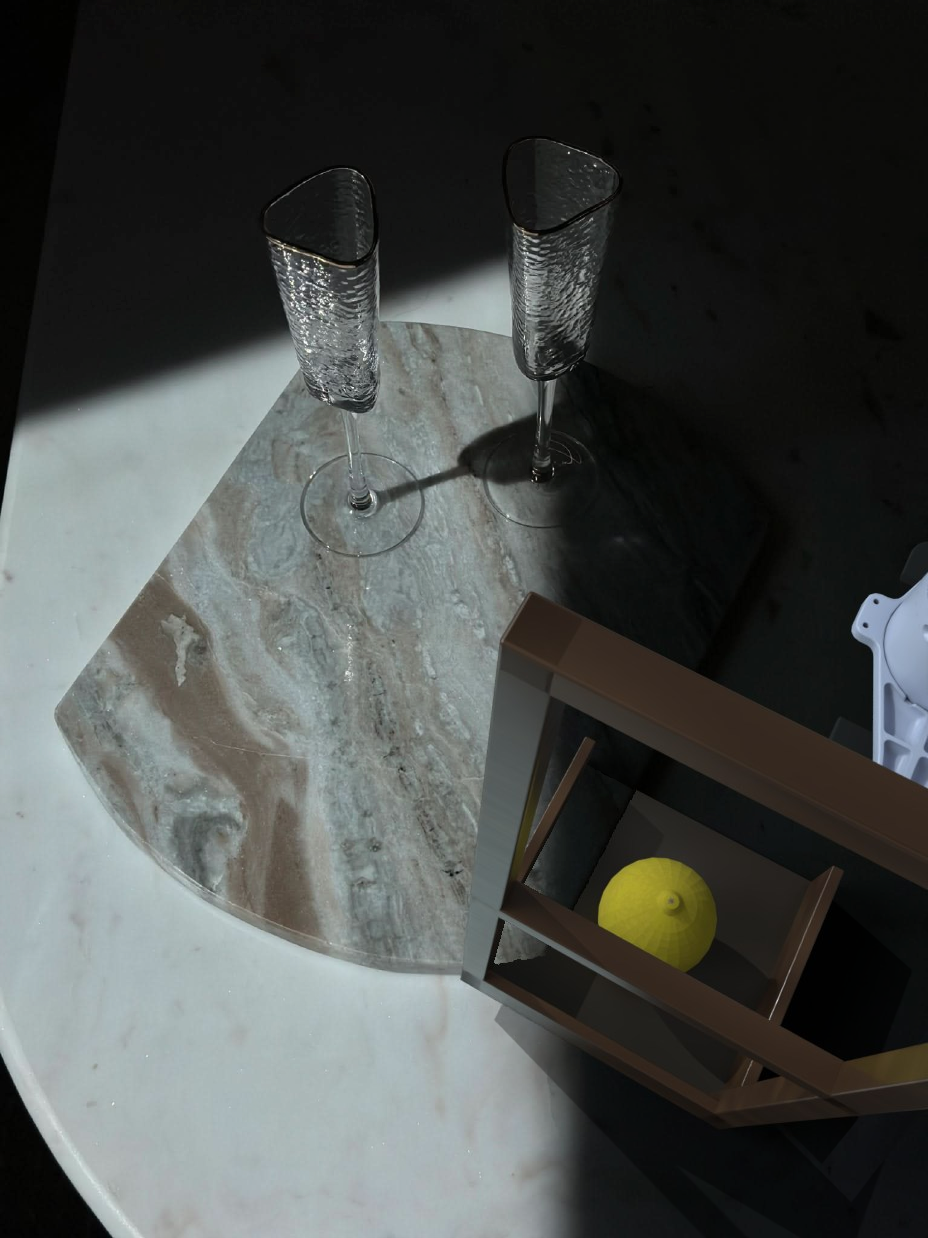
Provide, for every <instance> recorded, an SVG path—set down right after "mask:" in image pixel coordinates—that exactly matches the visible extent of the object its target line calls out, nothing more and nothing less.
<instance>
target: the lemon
mask: <svg viewBox="0 0 928 1238" xmlns="http://www.w3.org/2000/svg"><path fill="white" fill-rule="evenodd" d="M716 923H717V915H716V906H715V902H714V899H713V896H712V894H711V891H710V889H709V888H708V886H707V885H706V883H705V882H704V880H703V879H702V878H701V877H700V876H699V875H698V874H697V873H696V872H695V871H694V870H693V869H691V868H690V867H688V866H686V865H684V864H683V863H681V862H678V861H675V860H671V859H668V858H648V859H643V860H639V861H636V862H634V863H632V864H630V865H628V866H626V867H624V868H623V869H622V870H621V871H619V872H618V873H617V874H616V875H615V876H614V877H613V878H612V879H611V881H610V882H609V884H608V885H607V887H606V889H605V890H604V892H603V895H602V898H601V901H600V904H599V914H598V924H599V926H601V927H603V928H604V929H606V930H608V931H610V932H612V933H613V934H615V935H617V936H619V937H621V938H622V939H624V940H626V941H628V942H630V943H632V944H633V945H635V946H637V947H639V948H641V949H642V950H644V951H646V952H648V953H650V954H651V955H653V956H655V957H657V958H659V959H660V960H662V961H664V962H666V963H668V964H669V965H671V966H673V967H675V968H677V969H678V970H680V971H682V972H684V973H685V972H687V971H688V970H689V969H691V968H692V967H694V966H695V965H696V964H698V963H699V962H700V960H701V959H702V958H703V957H704V955H705V954H706V953H707V952H708V950H709V948H710V946H711V943H712V941H713V938H714V936H715V930H716Z"/></svg>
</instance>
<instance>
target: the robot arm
mask: <svg viewBox="0 0 928 1238" xmlns="http://www.w3.org/2000/svg"><path fill="white" fill-rule="evenodd" d="M899 583H900V592H901V597H899V598H891V597H888V596H886V595H884V594H881V593H877V592H876V593H872V594H871V593H870V594H868V596H867V598H865V600H864V601H863V602H862V604H860V607H859V609H858V612H857V614H856V616H855V618H854V621H853V623H852V625H851V634H852V636H853V638H855V639H856V640H857V641H858V642H859V643H862V644H864V645H866V646H868V647H869V648H870V649H871V652H872V654H873V655H872V656H873V670H872V671H873V673H872V674H873V676H872V677H873V678H872V679H873V683H872V684H873V686H872V688H873V692H872V693H873V695H872V698H873V699H872V701H873V703H872V705H873V706H872V708H873V709H872V713H873V714H872V719H873V720H872V730H869V729H867V728H865V727H863V726H861V725H859V724H857V723H855V722H852V721H851V720H848V719H847V718H845V717H843V716H839V717H838V718H837V719H836V721H835V724H834V726H833V729H832V730H831V732H830V734H829V737H828V739H830V740H832V741H834V742H836V743H838V744H840V745H842V746H844V747H846V748H848V749H850V750H852V751H854V752H856V753H858V754H860V755H862V756H864V757H866V758H868V759H870V760H872V761H874V762H876V763H878V764H880V765H882V766H884V767H886V768H888V769H890V770H892V771H894V772H896V773H898V774H900V775H902V776H904V777H906V778H908V779H910V780H912V781H914V782H916V783H918V784H920V785H922V786H924V787H926V788H928V541H923V542H920V543H918V544H917V545H916V546H914V547H913V548H912V550H911V551H910V553H909V556H908V558H907V561H906V562H905V564H904V567H903V569H902V572H901V574H900V576H899Z"/></svg>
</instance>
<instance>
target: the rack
mask: <svg viewBox="0 0 928 1238" xmlns="http://www.w3.org/2000/svg"><path fill="white" fill-rule="evenodd" d="M494 678H495V679H494V687H493V696H492V703H491V704H492V705H491V714H490V722H489V729H488V730H489V731H488V739H487V748H486V749H487V750H486V757H485V765H484V774H483V780H482V781H483V782H482V792H481V799H480V808H479V816H478V817H479V818H478V825H477V834H476V843H475V852H474V861H473V869H472V877H471V879H472V880H471V886H470V893H469V903H468V910H467V912H468V913H467V921H466V928H465V929H466V930H465V938H464V939H465V940H464V946H463V955H462V964H461V969H460V977H459V980H460V981H461V982H463V983H464V984H466V985H469V986H470V987H472V988H474V989H475V990H477V991H478V992H480V993H481V994H484V995H485V996H487V997H489V998H491V999H492V1000H495V1002H497V1003H498V1004H501V1005H503V1006H505V1007H506V1008H507V1009H510V1010H512V1011H513V1012H515V1013H517V1014H518V1015H520V1016H522V1017H523V1018H524V1019H527V1020H529V1021H530V1022H532V1023H534V1024H536V1025H538V1026H539V1027H541V1028H542V1029H544V1030H546V1031H547V1032H550V1033H551V1034H553V1035H555V1036H556V1037H558V1038H560V1039H561V1040H563V1041H565V1042H566V1043H568V1044H570V1045H572V1046H574V1047H575V1048H577V1049H578V1050H581V1051H582V1052H584V1053H586V1054H587V1055H589V1056H591V1057H593V1059H596V1060H598V1061H600V1062H601V1063H603V1064H604V1065H606V1066H608V1067H610V1068H612V1069H613V1070H615V1071H617V1072H618V1073H620V1074H622V1075H624V1076H625V1077H627V1078H629V1079H630V1080H632V1081H634V1082H636V1083H638V1084H639V1085H641V1086H643V1087H644V1088H646V1089H648V1090H650V1091H651V1092H653V1093H655V1094H656V1095H658V1096H659V1097H662V1098H663V1099H666V1100H667V1101H669V1102H670V1103H672V1104H674V1105H676V1106H677V1107H679V1108H681V1109H683V1110H685V1112H687V1113H689V1114H691V1115H692V1116H694V1117H697V1118H698V1119H700V1120H701V1121H704V1122H705V1123H707V1124H708V1125H710V1126H712V1127H713V1128H715V1129H717V1130H724V1129H734V1128H741V1127H753V1126H763V1125H772V1124H773V1125H774V1124H784V1123H793V1122H804V1121H805V1122H806V1121H814V1120H824V1119H835V1118H836V1119H837V1118H846V1117H860V1116H861V1117H862V1116H865V1115H866V1116H867V1115H868V1116H869V1115H877V1114H886V1113H887V1114H889V1113H900V1112H908V1111H920V1110H928V1042H923V1043H919V1044H915V1045H909V1046H906V1047H901V1048H898V1049H894V1050H888V1051H885V1052H880V1053H876V1054H871V1055H866V1056H863V1057H859V1058H854V1059H850V1060H846V1061H844V1060H843V1059H841V1058H839V1057H837V1056H836V1055H834V1054H832V1053H830V1052H828V1051H827V1050H826V1049H825V1050H824V1049H823V1048H821V1047H819V1046H818V1045H816V1044H814V1043H812V1042H810V1041H808V1040H806V1038H805V1039H804V1037H802V1036H799V1034H795V1033H794V1032H792V1031H791V1030H788V1029H787V1028H785V1027H783V1026H781V1025H782V1023H783V1022H784V1021H783V1020H784V1019H785V1015H786V1014H787V1010H788V1009H789V1006H790V1004H791V1001H792V999H793V996H794V994H795V991H796V989H797V987H798V984H799V982H800V980H801V977H802V974H803V972H804V970H805V968H806V965H807V962H808V960H809V958H810V955H811V953H812V950H813V948H814V945H815V943H816V941H817V938H818V936H819V933H820V931H821V928H822V926H823V923H824V922H825V919H826V916H827V913H828V911H829V909H830V906H831V904H832V902H833V899H834V897H835V895H836V892H837V890H838V888H839V887H838V886H839V885H840V882H841V880H842V877H843V875H844V874H845V870H843V869H841V868H840V867H838V866H836V865H832V866H830V867H829V868H828V869H827V870H826V871H824V872H822V873H821V874H820V875H818V876H817V877H816V878H814V879H813V880H809V879H807V878H806V877H803V876H801V875H799V874H797V872H794V871H791V870H790V869H788V868H786V867H784V866H782V865H781V864H779V863H776V862H775V861H772V860H771V859H769V858H767V857H765V856H763V855H762V854H760V853H757V852H756V851H753V850H752V849H750V848H748V847H746V846H744V845H742V844H740V843H738V842H737V841H734V840H733V839H731V838H729V837H728V836H725V835H723V834H721V833H719V832H717V831H715V830H714V829H711V828H710V827H708V826H706V825H704V824H703V823H700V822H699V821H697V820H694V819H693V818H691V817H689V816H687V815H685V814H684V813H682V812H679V811H678V810H676V809H674V808H671V807H670V806H668V805H666V804H664V803H663V802H660V801H658V800H656V799H654V798H652V797H651V796H649V795H647V794H646V793H643V792H642V791H640V790H637V789H636V792H635V794H634V795H633V798H632V800H630V802H629V804H628V806H627V809H626V811H625V813H624V814H623V817H622V818H621V820H619V823H618V824H617V826H616V829H615V830H614V832H613V834H612V837H611V838H610V840H609V843H608V845H607V846H606V850H605V852H604V853H603V855H602V856H601V858H600V859H599V861H598V864H597V866H596V867H595V869H594V872H593V873H592V876H591V877H590V879H589V883H588V884H587V885H586V888H585V889H584V891H583V893H582V894H581V896H580V898H579V899H578V902H577V904H576V905H575V907H574V910H573V911H572V910H570V909H568V908H567V907H565V906H563V905H561V904H559V903H557V902H556V901H554V900H552V899H550V898H548V897H547V896H545V895H543V894H541V893H539V892H538V891H536V890H534V889H532V888H530V887H529V886H527V885H525V884H524V883H525V881H526V879H527V877H528V875H529V873H530V871H531V870H532V868H533V866H534V864H535V862H536V860H537V858H538V856H539V854H540V852H541V851H542V849H543V847H544V845H545V843H546V841H547V839H548V838H549V836H550V834H551V832H552V830H553V828H554V826H555V824H556V822H557V820H558V819H559V817H560V815H561V813H562V811H563V809H564V807H565V805H566V803H567V802H568V800H569V798H570V796H571V794H572V792H573V790H574V788H575V787H576V785H577V783H578V781H579V779H580V777H581V775H582V773H583V771H584V769H585V768H586V766H587V764H588V765H589V761H590V759H591V756H592V754H593V751H594V749H595V745H596V743H597V741H596V740H594V739H592V738H590V737H588V736H585V737H584V738H583V740H582V742H581V744H580V745H579V747H578V749H577V751H576V753H575V755H574V757H573V758H572V761H571V763H570V764H569V766H568V768H567V770H566V772H565V774H564V776H563V778H562V779H561V781H560V783H559V785H558V787H557V789H556V791H555V793H554V795H553V796H552V798H551V800H550V801H549V803H548V806H547V807H546V809H545V811H544V813H543V815H542V816H541V818H540V820H539V822H538V824H537V825H536V827H535V830H534V831H533V833H532V835H531V836H530V834H531V831H532V827H533V824H534V820H535V816H536V812H537V809H538V805H539V802H540V798H541V794H542V790H543V787H544V785H545V780H546V777H547V773H548V770H549V766H550V762H551V759H552V755H553V751H554V747H555V744H556V740H557V736H558V733H559V730H560V725H561V723H562V718H563V716H564V713H565V712H564V711H565V708H566V705H569V706H570V707H572V708H574V709H576V710H578V711H580V712H581V713H584V714H586V715H587V716H590V717H592V718H593V719H595V720H598V721H600V722H602V723H603V724H605V725H607V726H609V727H611V728H613V729H615V730H617V731H619V732H620V733H623V734H625V735H627V736H629V737H630V738H632V739H634V740H636V741H638V742H640V743H642V744H644V745H646V746H648V747H650V748H652V749H654V750H656V751H657V752H660V753H661V754H663V755H665V756H667V757H669V758H671V759H673V760H675V761H676V762H679V763H681V764H683V765H685V766H687V767H689V768H690V769H692V770H694V771H696V772H699V773H700V774H702V775H704V776H706V777H707V778H710V779H712V780H714V781H716V782H718V783H720V784H721V785H724V786H726V787H728V788H729V789H731V790H733V791H735V792H737V793H739V794H740V795H742V796H745V797H747V798H749V799H750V800H752V801H755V802H756V803H758V804H760V805H762V806H764V807H766V808H768V809H770V810H772V811H774V812H776V813H777V814H779V815H782V816H783V817H786V818H787V819H789V820H792V821H793V822H795V823H797V824H799V825H801V826H803V827H805V828H808V830H811V831H812V832H814V833H816V834H818V835H820V836H822V837H824V838H826V839H828V840H830V841H832V842H834V843H836V844H838V845H840V846H842V847H843V848H845V849H848V850H849V851H851V852H853V853H855V854H857V855H859V856H861V857H863V858H865V859H867V860H869V861H871V862H873V863H875V864H876V865H879V866H880V867H882V868H884V869H886V870H888V871H890V872H892V873H894V874H896V875H898V876H900V877H901V878H904V879H905V880H907V881H909V882H911V883H914V884H915V885H918V886H919V887H920V888H923V889H925V890H927V891H928V788H926V787H924V786H922V785H920V784H918V783H916V782H914V781H912V780H910V779H908V778H906V777H904V776H902V775H900V774H898V773H896V772H894V771H892V770H890V769H888V768H886V767H884V766H882V765H880V764H878V763H876V762H874V761H872V760H870V759H868V758H866V757H864V756H862V755H860V754H858V753H856V752H854V751H852V750H850V749H848V748H846V747H844V746H842V745H840V744H838V743H836V742H834V741H832V740H830V739H829V737H826V736H824V735H822V734H821V733H818V732H816V731H813V730H812V729H810V728H808V727H806V726H804V725H802V724H800V723H798V722H796V721H794V720H792V719H790V718H788V717H786V716H784V715H782V714H780V713H778V712H776V711H774V710H772V709H770V708H768V707H765V706H764V705H762V704H760V703H757V702H756V701H754V700H752V699H750V698H747V697H746V696H744V695H742V694H740V693H738V692H736V691H734V690H731V689H730V688H727V687H726V686H724V685H722V684H720V683H717V682H716V681H714V680H712V679H710V678H708V677H706V676H704V675H701V674H700V673H697V672H695V671H694V670H691V669H690V668H688V667H685V666H684V665H682V664H679V663H678V662H675V661H674V660H671V659H670V658H667V656H663V655H661V654H659V653H657V652H655V651H654V650H651V649H649V648H648V647H645V646H643V645H642V644H639V643H637V642H636V641H633V640H631V639H629V638H627V637H626V636H623V635H621V634H619V633H617V632H616V631H613V630H611V629H609V628H607V627H606V626H604V625H601V624H599V623H597V622H595V621H593V620H591V619H589V618H588V617H585V616H584V615H581V614H579V613H577V612H575V611H574V610H571V609H569V608H567V607H565V606H563V605H562V604H560V603H558V602H556V601H554V600H552V599H549V598H547V597H546V596H544V595H541V594H539V593H537V592H536V591H531V590H530V591H529V592H527V593H526V595H525V597H523V600H522V602H520V605H519V607H518V608H517V610H516V612H515V613H514V615H513V616H512V619H511V620H510V622H509V623H508V625H507V626H506V628H505V630H504V632H503V634H502V635H501V637H500V638H499V645H498V652H497V661H496V670H495V677H494ZM529 838H530V839H529ZM648 858H668V859H671V860H675V861H678V862H681V863H683V864H684V865H686V866H688V867H690V868H691V869H693V870H694V871H695V872H696V873H697V874H698V875H699V876H700V877H701V878H702V879H703V880H704V882H705V883H706V885H707V886H708V888H709V889H710V891H711V894H712V896H713V899H714V902H715V906H716V915H717V923H716V930H715V936H714V938H713V941H712V943H711V946H710V948H709V950H708V952H707V953H706V954H705V955H704V957H703V958H702V959H701V960H700V962H699V963H698V964H696V965H695V966H694V967H692V968H691V969H689V970H688V971H687V972H685V973H684V972H682V971H680V970H678V969H677V968H675V967H673V966H671V965H669V964H668V963H666V962H664V961H662V960H660V959H659V958H657V957H655V956H653V955H651V954H650V953H648V952H646V951H644V950H642V949H641V948H639V947H637V946H635V945H633V944H632V943H630V942H628V941H626V940H624V939H622V938H621V937H619V936H617V935H615V934H613V933H612V932H610V931H608V930H606V929H604V928H603V927H601V926H599V924H598V914H599V904H600V901H601V898H602V895H603V892H604V890H605V889H606V887H607V885H608V884H609V882H610V881H611V879H612V878H613V877H614V876H615V875H616V874H617V873H618V872H619V871H621V870H622V869H623V868H624V867H626V866H628V865H630V864H632V863H634V862H636V861H639V860H643V859H648ZM505 921H506V922H508V923H510V924H512V925H513V926H515V927H517V928H519V929H521V930H522V931H524V932H526V933H528V934H529V935H531V936H533V937H535V938H537V939H538V940H540V941H542V942H544V943H545V944H547V945H549V946H551V948H549V949H548V951H547V952H546V954H545V956H542V957H541V956H538V957H535V958H533V959H527V960H521V959H517V960H514V961H513V962H508V963H500V964H499V965H498V964H495V963H494V960H495V957H496V953H497V949H498V946H499V942H500V939H501V935H502V931H503V928H504V924H505ZM764 1068H766V1069H768V1070H769V1071H770V1072H773V1073H774V1074H776V1075H778V1076H777V1077H772V1078H768V1079H764V1080H759V1079H760V1076H761V1074H762V1071H763V1069H764Z"/></svg>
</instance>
